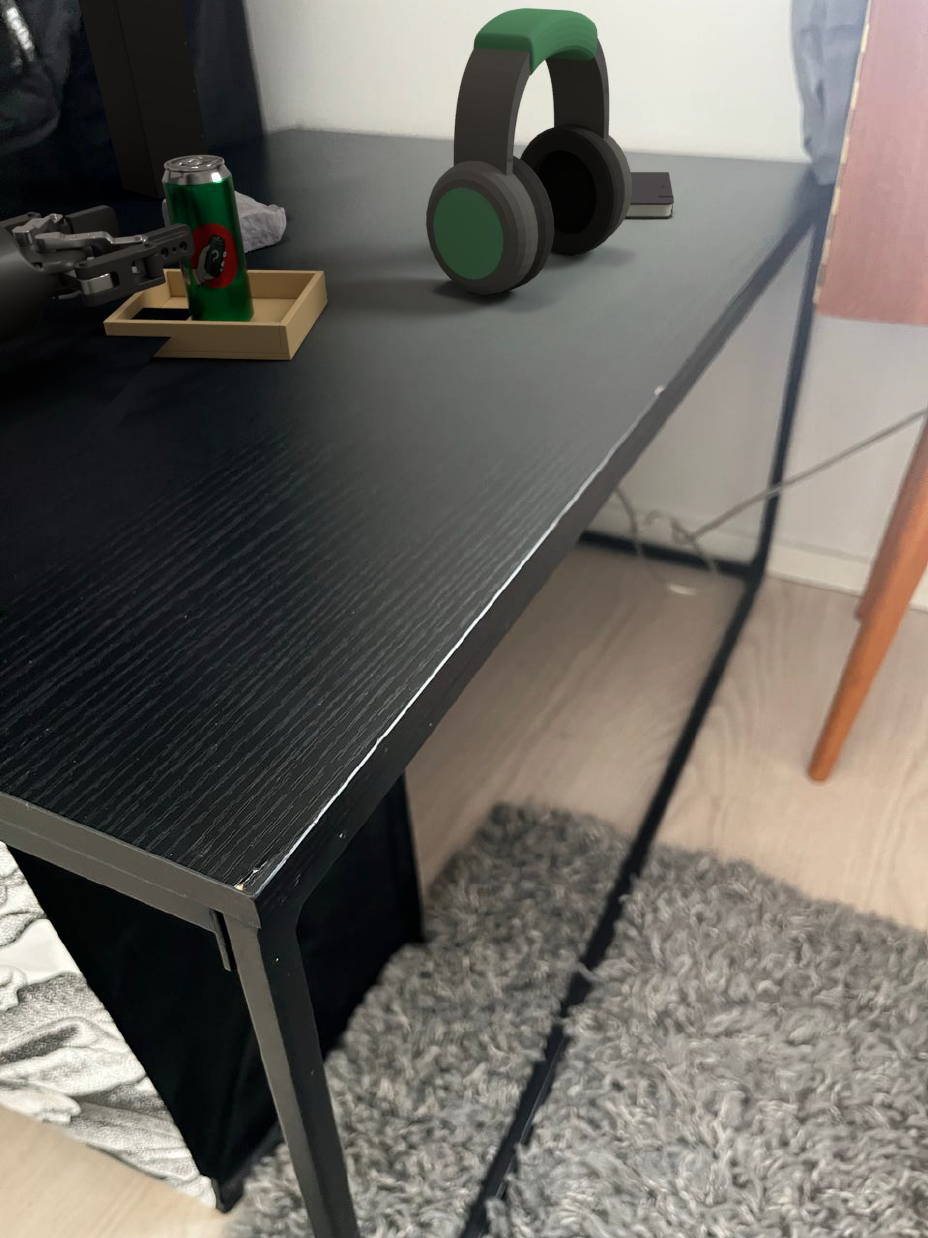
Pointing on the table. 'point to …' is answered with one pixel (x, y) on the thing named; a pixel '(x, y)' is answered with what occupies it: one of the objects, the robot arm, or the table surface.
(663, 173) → the notebook
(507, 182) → the headphones
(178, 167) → the soda can
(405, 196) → the table surface
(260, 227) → the stone block
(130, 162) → the tall black block
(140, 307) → the tray
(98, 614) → the table surface
